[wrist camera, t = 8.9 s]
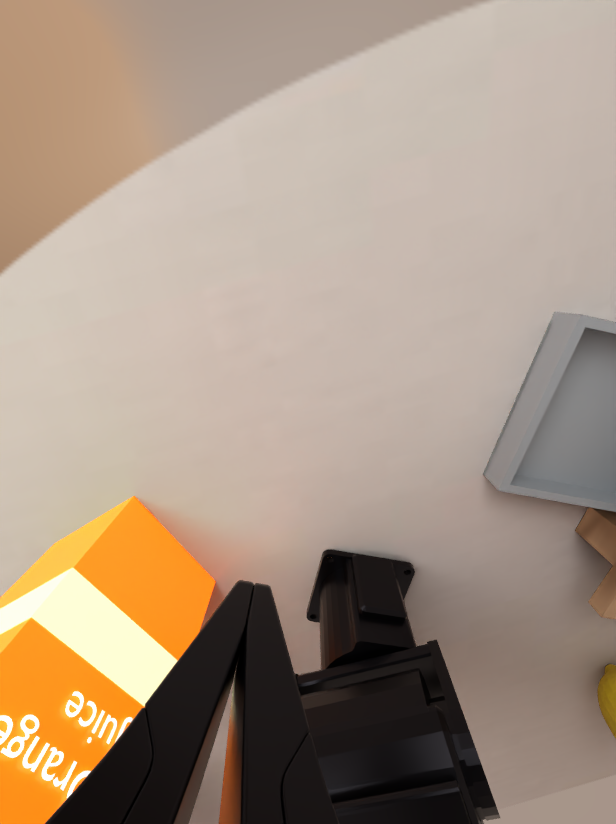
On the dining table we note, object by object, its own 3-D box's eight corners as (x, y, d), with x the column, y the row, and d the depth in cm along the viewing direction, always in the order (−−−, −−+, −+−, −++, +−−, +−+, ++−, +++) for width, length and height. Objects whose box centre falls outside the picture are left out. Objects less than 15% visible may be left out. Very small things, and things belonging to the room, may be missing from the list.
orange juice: (134, 494, 22) (-962, 1782, 3) (217, 581, 24) (-95, 1567, 6) (51, 544, 23) (-1020, 1606, 5) (137, 621, 26) (-319, 1503, 7)
